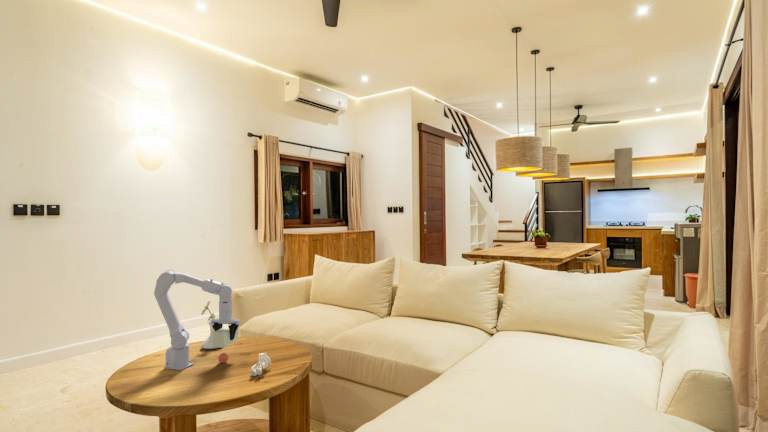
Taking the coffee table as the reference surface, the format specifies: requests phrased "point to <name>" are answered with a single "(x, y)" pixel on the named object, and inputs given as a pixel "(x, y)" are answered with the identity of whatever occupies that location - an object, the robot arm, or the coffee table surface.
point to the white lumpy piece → (260, 364)
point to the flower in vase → (208, 342)
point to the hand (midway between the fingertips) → (225, 339)
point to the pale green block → (223, 337)
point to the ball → (223, 358)
